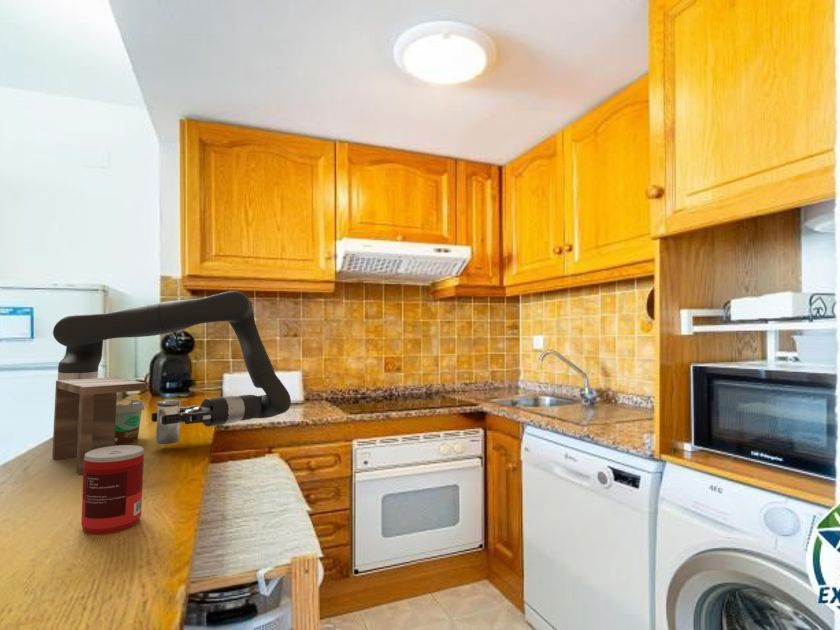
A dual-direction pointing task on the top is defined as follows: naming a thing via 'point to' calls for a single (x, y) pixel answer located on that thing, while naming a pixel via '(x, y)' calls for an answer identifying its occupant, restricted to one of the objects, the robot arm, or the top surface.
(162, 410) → the steel tin
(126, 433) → the food container
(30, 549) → the top surface
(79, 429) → the walnut shelf
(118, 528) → the canned food
